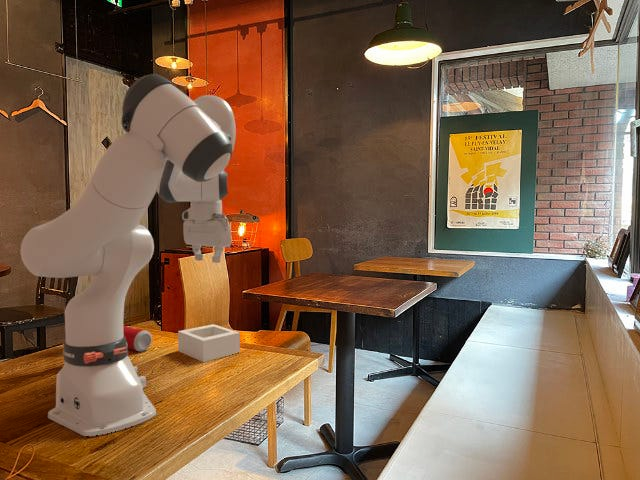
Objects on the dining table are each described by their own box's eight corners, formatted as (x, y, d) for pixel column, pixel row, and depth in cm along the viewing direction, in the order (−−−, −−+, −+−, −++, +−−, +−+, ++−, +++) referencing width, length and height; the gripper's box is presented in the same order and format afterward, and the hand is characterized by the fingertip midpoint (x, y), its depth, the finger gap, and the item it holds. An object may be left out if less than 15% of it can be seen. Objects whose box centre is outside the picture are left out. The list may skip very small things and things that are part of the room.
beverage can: (156, 334, 141) (130, 329, 147) (141, 327, 136) (115, 322, 142) (148, 354, 138) (122, 348, 145) (132, 348, 134) (106, 342, 140)
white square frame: (239, 352, 137) (239, 332, 136) (203, 362, 128) (203, 340, 128) (213, 343, 146) (213, 324, 146) (178, 351, 138) (178, 331, 138)
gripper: (236, 213, 130) (237, 263, 130) (198, 213, 144) (198, 258, 145) (217, 213, 125) (217, 265, 126) (179, 213, 140) (180, 259, 140)
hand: (207, 261), depth 135 cm, fingers open, 8 cm apart
